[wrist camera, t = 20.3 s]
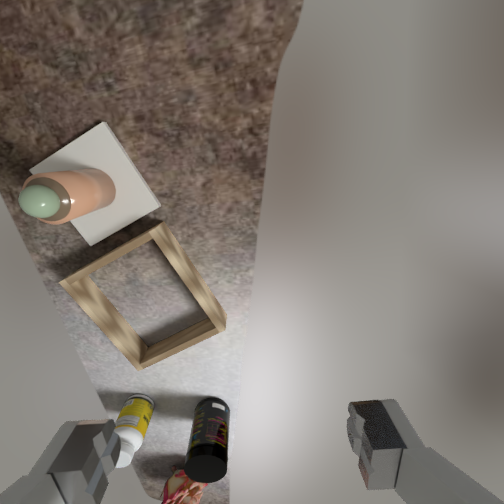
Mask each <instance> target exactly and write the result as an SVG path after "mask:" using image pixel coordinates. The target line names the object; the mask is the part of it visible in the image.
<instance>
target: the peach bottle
mask: <svg viewBox="0 0 504 504" xmlns="http://www.w3.org/2000/svg"><path fill="white" fill-rule="evenodd" d="M115 195H116V188H115V185H114V182H113V180H112V179H111V178H110V176H109V175H108V174H106V173H105V172H103V171H102V170H99V169H96V168H87V169H77V170H67V171H57V172H47V173H38V174H34V175H32V176H30V177H29V178H27V180H26V181H25V183H24V185H23V188H22V191H21V193H20V195H19V204H20V206H21V208H22V209H23V211H24V212H26V213H27V214H29V215H30V216H33V217H36V218H37V219H39V220H41V221H43V222H45V223H48V224H62V223H65V222H67V221H70V220H72V219H75V218H78V217H80V216H83V215H86V214H88V213H91V212H94V211H96V210H99V209H101V208H104V207H107V206H109V205H110V204H111V203H112V202H113V201H114V199H115Z"/></svg>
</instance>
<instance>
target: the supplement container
mask: <svg viewBox="0 0 504 504" xmlns="http://www.w3.org/2000/svg"><path fill="white" fill-rule="evenodd" d="M229 421H230V409H229V407H228V405H227V404H226V403H225V402H224V401H222V400H220V399H217V398H208V399H205V400H203V401H201V402H200V403H199V404H198V405H197V407H196V409H195V413H194V419H193V424H192V429H191V434H190V439H189V445H188V450H187V454H186V459H185V464H184V472H185V474H186V476H187V477H188V478H190V479H191V480H193V481H196V482H199V483H212V482H216V481H218V480H220V479H222V478H223V477H224V476H225V474H226V472H227V462H228V439H229Z"/></svg>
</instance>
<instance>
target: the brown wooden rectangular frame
mask: <svg viewBox="0 0 504 504" xmlns="http://www.w3.org/2000/svg"><path fill="white" fill-rule="evenodd" d="M151 239H154V240H155V242H156V243H157V245H158V246H159V248H160V249H161V250H162V252H163V253H164V255H165V256H166V257H167V259H168V260H169V262H170V263H171V265H172V266H173V267H174V269H175V270H176V272H177V273H178V274H179V276H180V277H181V279H182V280H183V281H184V283H185V284H186V286H187V287H188V289H189V290H190V291H191V293H192V294H193V296H194V297H195V298H196V300H197V301H198V303H199V304H200V306H201V307H202V308H203V310H204V311H205V313H206V314H207V315H208V317H209V318H207V319H205V320H203V321H201V322H199V323H197V324H195V325H193V326H191V327H189V328H187V329H185V330H182V331H180V332H178V333H176V334H174V335H172V336H170V337H168V338H166V339H164V340H162V341H160V342H158V343H156V344H154V345H152V346H150V347H148V346H147V345H146V344H145V343H144V342H143V340H142V339H141V338H140V337H139V336H138V334H137V333H136V332H135V331H134V330H133V328H132V327H131V326H130V325H129V324H128V323H127V321H126V320H125V319H124V318H123V317H122V315H121V314H120V313H119V312H118V311H117V310H116V308H115V307H114V306H113V305H112V304H111V302H110V301H109V300H108V299H107V298H106V296H105V295H104V294H103V293H102V292H101V291H100V289H99V288H98V287H97V286H96V285H95V283H94V282H93V281H92V280H91V279H90V277H89V276H88V275H89V274H90V273H92V272H94V271H96V270H97V269H99V268H101V267H103V266H105V265H106V264H108V263H110V262H112V261H114V260H115V259H117V258H119V257H121V256H123V255H124V254H126V253H128V252H130V251H132V250H133V249H135V248H137V247H139V246H141V245H142V244H144V243H146V242H148V241H150V240H151ZM59 283H60V284H61V285H62V287H63V288H64V289H65V290H66V291H67V292H68V293H69V294H70V295H71V297H72V298H73V299H74V300H75V301H76V302H77V303H78V304H79V306H80V307H81V308H82V309H83V310H84V311H85V312H86V313H87V314H88V316H89V317H90V318H91V319H92V320H93V321H94V322H95V323H96V325H97V326H98V327H99V328H100V329H101V330H102V331H103V332H104V333H105V335H106V336H107V337H108V338H109V339H110V340H111V341H112V342H113V343H114V345H115V346H116V347H117V348H118V349H119V350H120V351H121V352H122V354H123V355H124V356H125V357H126V358H127V359H128V360H129V361H130V362H131V364H132V365H133V366H134V367H135V368H136V369H137V370H138V371H140V370H142V369H144V368H146V367H148V366H150V365H153V364H155V363H157V362H159V361H161V360H163V359H165V358H167V357H169V356H171V355H174V354H176V353H178V352H180V351H182V350H184V349H186V348H188V347H190V346H193V345H195V344H197V343H199V342H201V341H203V340H205V339H207V338H209V337H211V336H214V335H216V334H218V333H220V332H222V331H224V330H225V328H226V319H227V314H226V313H225V311H224V310H223V308H222V307H221V305H220V304H219V302H218V301H217V299H216V298H215V296H214V295H213V293H212V292H211V290H210V289H209V288H208V286H207V285H206V283H205V282H204V280H203V279H202V277H201V276H200V274H199V273H198V271H197V270H196V268H195V267H194V265H193V264H192V262H191V261H190V259H189V258H188V256H187V255H186V253H185V252H184V250H183V249H182V247H181V246H180V245H179V243H178V242H177V240H176V239H175V237H174V236H173V234H172V233H171V231H170V230H169V228H168V227H167V225H166V224H165V222H164V221H163V222H161V223H160V224H158V225H156V226H154V227H152V228H151V229H149V230H147V231H145V232H144V233H142V234H140V235H138V236H137V237H135V238H133V239H131V240H129V241H128V242H126V243H124V244H122V245H121V246H119V247H117V248H115V249H113V250H112V251H110V252H108V253H106V254H105V255H103V256H101V257H99V258H98V259H96V260H94V261H92V262H90V263H89V264H87V265H85V266H83V267H82V268H80V269H78V270H76V271H75V272H73V273H72V274H70V275H69V276H68V277H66V278H65V279H63V280H62V281H60V282H59Z"/></svg>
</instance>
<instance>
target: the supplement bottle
mask: <svg viewBox="0 0 504 504" xmlns="http://www.w3.org/2000/svg"><path fill="white" fill-rule="evenodd" d="M153 410H154V403H153V401H152V400H151V399H150V398H149V397H148V396H145V395H140V394H137V395H132V396H130V397H129V398H128V399H127V400H126V402H125V404H124V406H123V408H122V410H121V412H120V414H119V417H118V419H117V421H116V423H115V425H116V427H115V429H114V432H115V433H117V434H118V435H119V437H120V440H121V450H120V455H119V459H118V462H117V464H116V468H123V467H126V466H128V465H129V464H130V463H131V461H132V458H133V455H134V452H135V451H137V450H138V449H139V448H140V446H141V445H142V442H143V439H144V436H145V433H146V430H147V428H148V425H149V422H150V419H151V416H152V413H153Z"/></svg>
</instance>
